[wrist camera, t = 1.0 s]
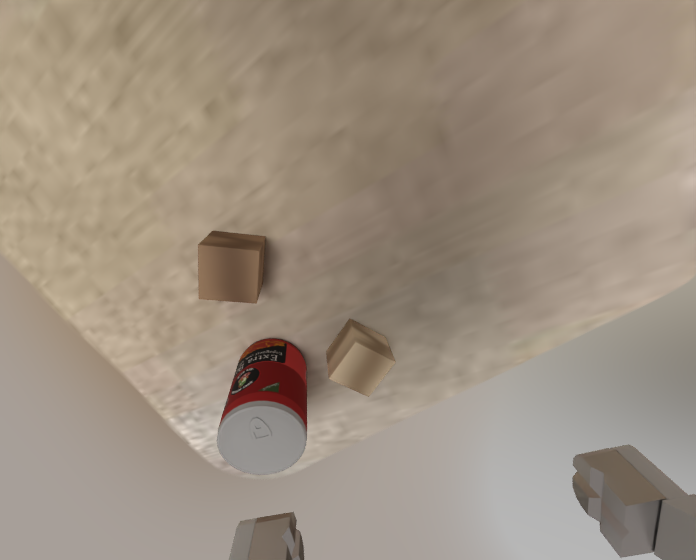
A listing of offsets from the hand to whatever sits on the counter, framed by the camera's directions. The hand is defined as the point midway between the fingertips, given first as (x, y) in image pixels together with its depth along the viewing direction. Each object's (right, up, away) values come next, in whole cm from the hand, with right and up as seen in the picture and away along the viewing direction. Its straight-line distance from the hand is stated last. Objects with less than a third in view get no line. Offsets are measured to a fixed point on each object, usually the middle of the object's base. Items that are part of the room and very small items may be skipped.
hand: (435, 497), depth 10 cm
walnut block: (-14, +9, +25) cm, 30 cm away
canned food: (-11, -4, +30) cm, 32 cm away
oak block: (-2, -1, +30) cm, 30 cm away
